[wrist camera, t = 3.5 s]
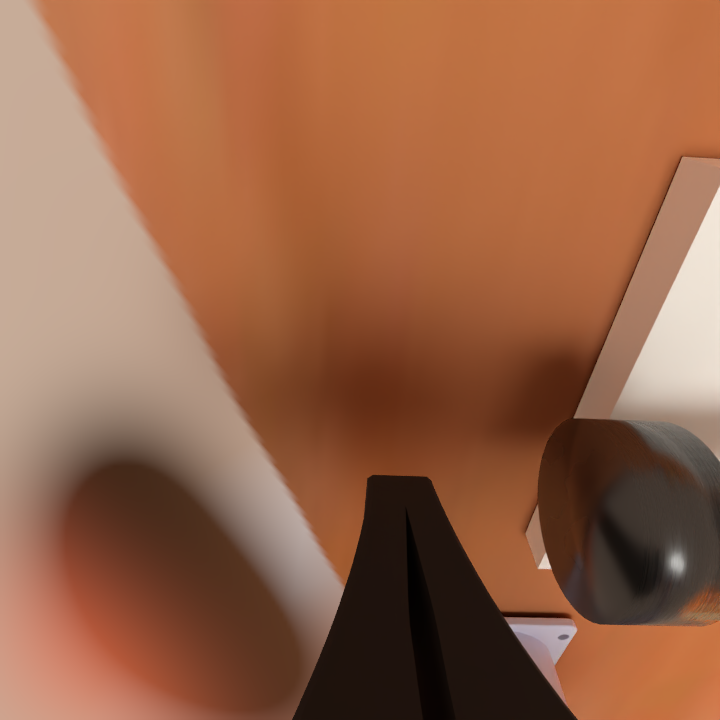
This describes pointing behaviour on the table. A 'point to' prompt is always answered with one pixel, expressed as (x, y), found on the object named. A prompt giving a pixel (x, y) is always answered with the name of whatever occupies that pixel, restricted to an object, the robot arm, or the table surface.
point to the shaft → (632, 521)
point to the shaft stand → (665, 325)
